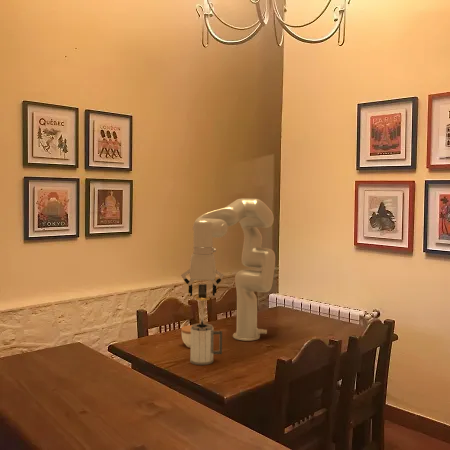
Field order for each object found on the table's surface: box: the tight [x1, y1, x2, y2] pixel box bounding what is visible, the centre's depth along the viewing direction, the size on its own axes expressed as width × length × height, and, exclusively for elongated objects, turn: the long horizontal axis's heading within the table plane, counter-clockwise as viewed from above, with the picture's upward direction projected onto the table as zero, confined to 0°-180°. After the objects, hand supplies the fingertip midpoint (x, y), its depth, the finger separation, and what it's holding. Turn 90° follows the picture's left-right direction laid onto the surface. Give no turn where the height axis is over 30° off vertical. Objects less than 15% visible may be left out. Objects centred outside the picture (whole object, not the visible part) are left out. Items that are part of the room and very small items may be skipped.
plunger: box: [195, 283, 210, 327], centre depth 198 cm, size 6×6×20 cm
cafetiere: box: [189, 322, 223, 366], centre depth 199 cm, size 13×9×14 cm
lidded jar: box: [180, 324, 193, 349], centre depth 220 cm, size 11×11×9 cm
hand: (202, 295), depth 198 cm, fingers open, 8 cm apart
